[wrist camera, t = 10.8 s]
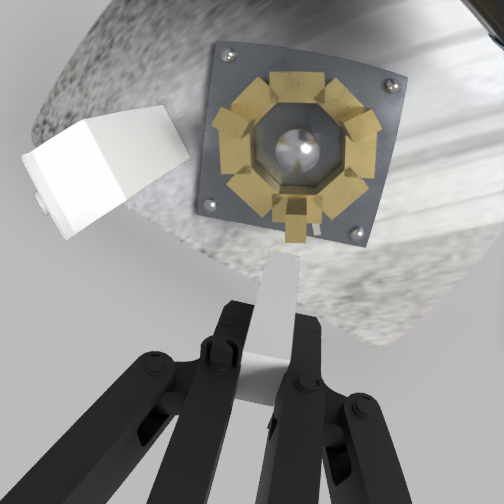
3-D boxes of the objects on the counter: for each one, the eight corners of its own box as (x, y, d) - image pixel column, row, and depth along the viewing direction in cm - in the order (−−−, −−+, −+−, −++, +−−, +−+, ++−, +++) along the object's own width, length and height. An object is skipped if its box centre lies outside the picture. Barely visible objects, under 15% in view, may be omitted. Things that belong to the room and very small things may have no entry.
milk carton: (163, 104, 33) (48, 127, 16) (191, 157, 35) (97, 221, 19) (118, 133, 35) (0, 179, 18) (144, 183, 37) (42, 256, 21)
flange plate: (218, 42, 28) (203, 33, 24) (405, 77, 27) (422, 75, 22) (199, 211, 38) (184, 230, 33) (364, 243, 37) (372, 267, 32)
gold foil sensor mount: (230, 210, 36) (211, 241, 29) (223, 76, 29) (199, 71, 22) (364, 215, 34) (378, 248, 27) (371, 78, 27) (392, 73, 20)
